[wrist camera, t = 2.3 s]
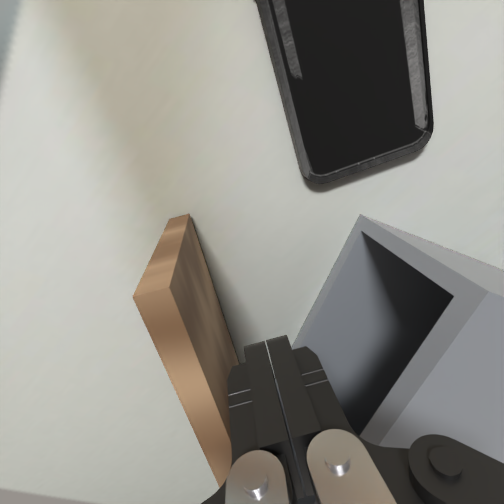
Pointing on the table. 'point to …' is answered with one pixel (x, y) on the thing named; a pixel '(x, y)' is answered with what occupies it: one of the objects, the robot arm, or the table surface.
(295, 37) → the phone
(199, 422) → the door
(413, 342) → the storage box
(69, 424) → the table surface
